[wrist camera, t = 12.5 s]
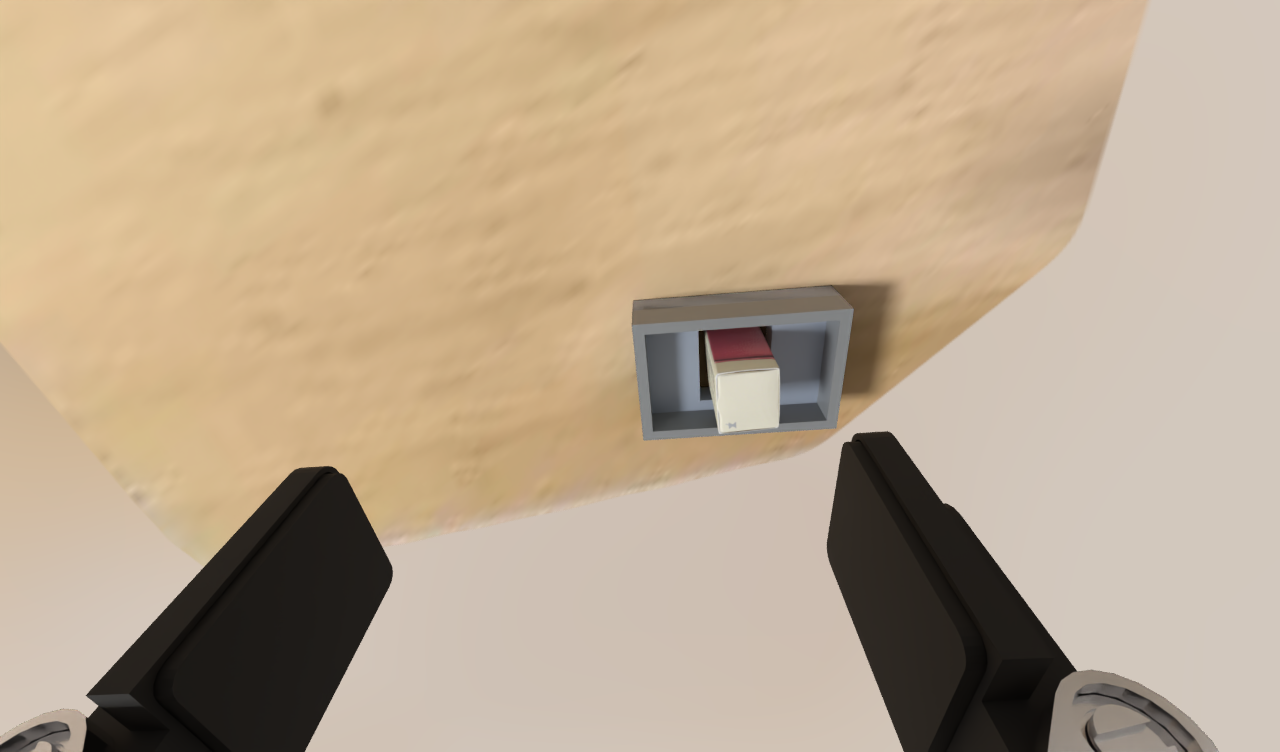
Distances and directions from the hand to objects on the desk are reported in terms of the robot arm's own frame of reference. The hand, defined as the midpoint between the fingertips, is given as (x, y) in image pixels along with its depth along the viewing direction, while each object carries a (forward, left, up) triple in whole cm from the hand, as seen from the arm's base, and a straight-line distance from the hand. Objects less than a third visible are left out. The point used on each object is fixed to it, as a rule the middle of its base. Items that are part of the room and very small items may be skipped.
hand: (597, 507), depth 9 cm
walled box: (-7, +12, -28) cm, 32 cm away
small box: (-7, +12, -29) cm, 32 cm away
